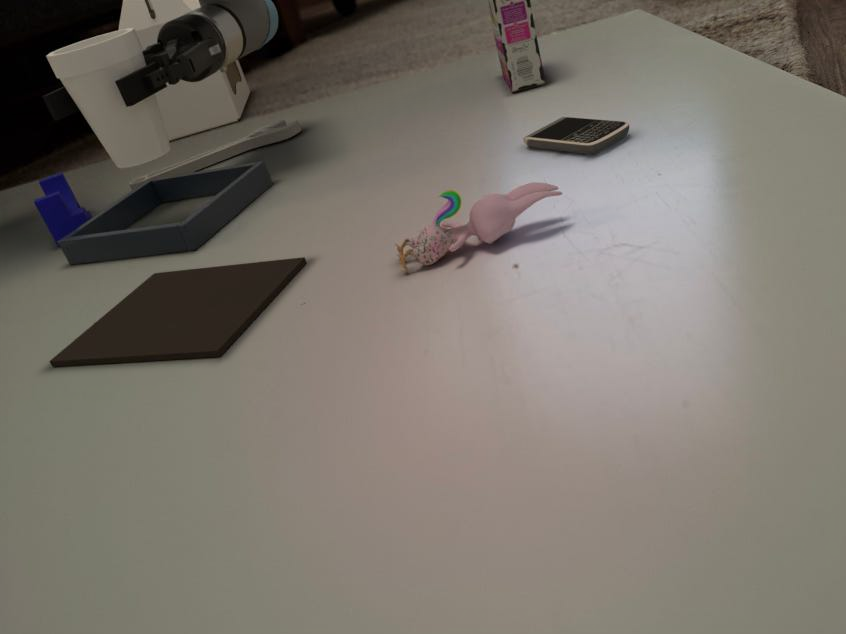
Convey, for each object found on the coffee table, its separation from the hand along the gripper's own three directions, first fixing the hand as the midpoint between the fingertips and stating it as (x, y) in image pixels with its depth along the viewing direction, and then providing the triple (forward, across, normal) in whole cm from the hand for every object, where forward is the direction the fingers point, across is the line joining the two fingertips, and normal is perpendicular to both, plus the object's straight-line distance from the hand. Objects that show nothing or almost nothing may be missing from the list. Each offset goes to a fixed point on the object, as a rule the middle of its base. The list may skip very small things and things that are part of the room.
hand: (86, 101), depth 89 cm
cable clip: (-7, +18, -17) cm, 26 cm away
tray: (-4, 0, -16) cm, 17 cm away
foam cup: (-4, 0, -8) cm, 9 cm away
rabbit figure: (+10, -44, -16) cm, 48 cm away
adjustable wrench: (-28, +8, -16) cm, 33 cm away
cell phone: (-13, -48, -16) cm, 52 cm away
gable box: (-55, +27, -16) cm, 63 cm away
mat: (+19, -17, -16) cm, 30 cm away
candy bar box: (-42, -35, -16) cm, 57 cm away
